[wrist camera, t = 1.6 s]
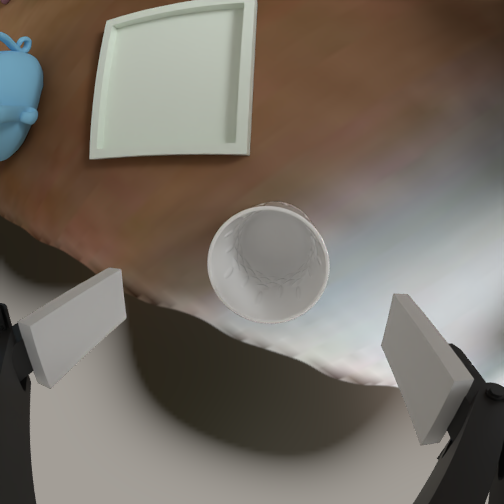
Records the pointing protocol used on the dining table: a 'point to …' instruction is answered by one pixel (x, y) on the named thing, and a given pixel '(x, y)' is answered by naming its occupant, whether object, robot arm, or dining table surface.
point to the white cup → (268, 263)
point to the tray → (176, 81)
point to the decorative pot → (17, 93)
